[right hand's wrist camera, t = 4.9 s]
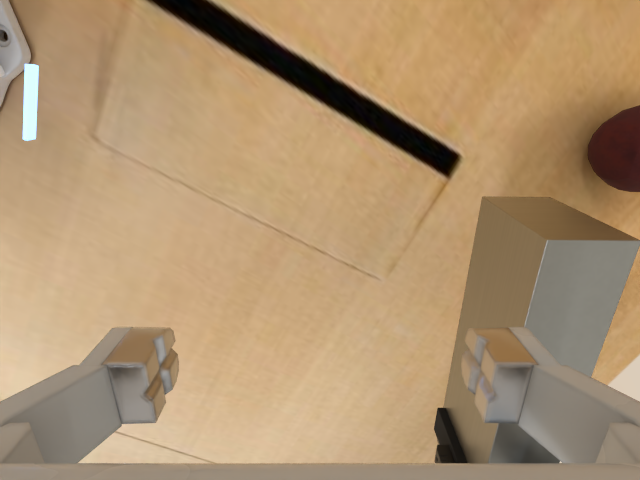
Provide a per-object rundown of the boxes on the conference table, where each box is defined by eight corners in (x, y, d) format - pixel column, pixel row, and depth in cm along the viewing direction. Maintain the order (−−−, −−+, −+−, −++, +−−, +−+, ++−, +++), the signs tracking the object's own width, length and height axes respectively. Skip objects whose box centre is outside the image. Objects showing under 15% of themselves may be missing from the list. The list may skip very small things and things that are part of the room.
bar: (482, 196, 28) (547, 240, 20) (550, 197, 28) (642, 240, 20) (436, 440, 38) (468, 534, 30) (487, 440, 38) (533, 534, 30)
